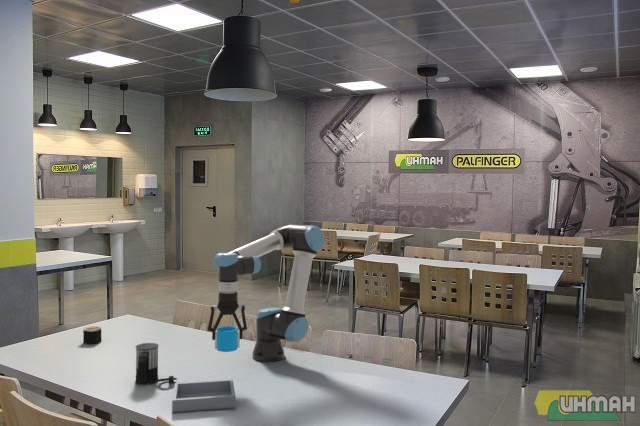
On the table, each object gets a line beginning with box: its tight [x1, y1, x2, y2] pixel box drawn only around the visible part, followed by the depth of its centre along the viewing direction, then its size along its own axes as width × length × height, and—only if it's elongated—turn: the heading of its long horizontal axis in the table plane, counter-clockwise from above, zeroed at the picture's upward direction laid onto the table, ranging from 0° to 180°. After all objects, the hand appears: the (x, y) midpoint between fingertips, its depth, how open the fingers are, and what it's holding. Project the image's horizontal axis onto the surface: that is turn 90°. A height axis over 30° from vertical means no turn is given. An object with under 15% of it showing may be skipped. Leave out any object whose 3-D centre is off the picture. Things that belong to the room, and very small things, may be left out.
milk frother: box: [134, 342, 178, 386], centre depth 213 cm, size 14×16×15 cm
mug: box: [216, 325, 239, 353], centre depth 211 cm, size 12×8×8 cm
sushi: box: [82, 325, 103, 346], centre depth 267 cm, size 8×8×8 cm
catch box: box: [171, 379, 236, 415], centre depth 194 cm, size 22×17×5 cm
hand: (227, 347), depth 211 cm, fingers closed on mug, 8 cm apart
